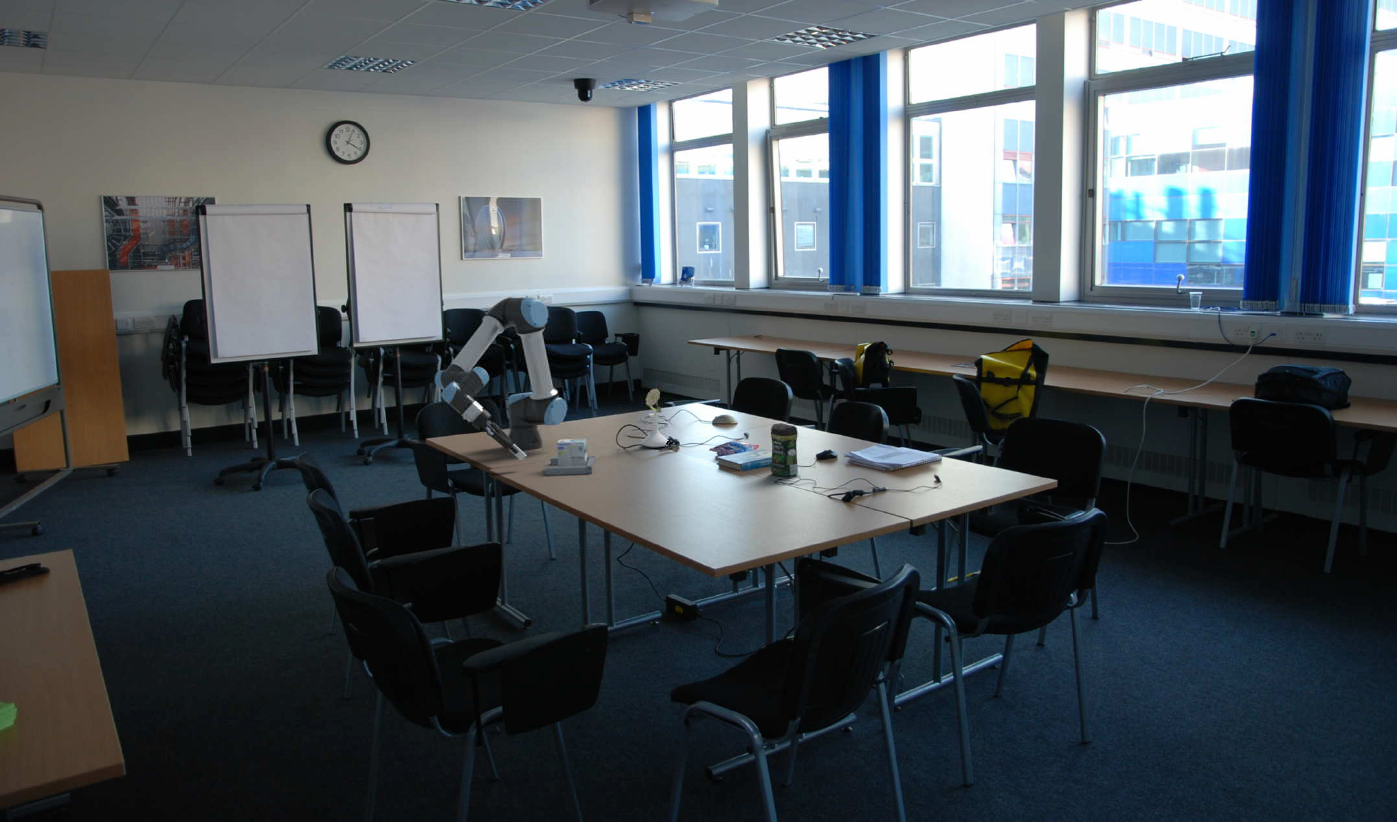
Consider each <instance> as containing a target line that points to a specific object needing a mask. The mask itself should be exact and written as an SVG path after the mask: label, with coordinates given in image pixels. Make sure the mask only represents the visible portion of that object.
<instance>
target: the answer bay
mask: <svg viewBox="0 0 1397 822" xmlns="http://www.w3.org/2000/svg"><path fill="white" fill-rule="evenodd" d="M549 460H550V465H551V466H549V467H548V466H546V467H545V469H544V470H545V471H544V473H545V476H561V475H565V474H566V475H592V474H593V471H594V468H593V467H594V466H595V463H596V457H595V456H594V455H592V456H591V455H589V456H588V455H587V466H574V467H558V457H550V459H549Z"/></svg>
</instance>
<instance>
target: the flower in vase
mask: <svg viewBox="0 0 1397 822" xmlns="http://www.w3.org/2000/svg"><path fill="white" fill-rule="evenodd" d="M660 394H661V392H660V390H658V389H657V388H655V389H654V388H653V389H651V390H650V391H649V392H648V393H647V395H646V398H645V401H646V402H645V404H646V406H648V407H650V409H651V410H653V411H654V413H653V412H652V413H649V414H648V416H649V417H650V419H651V424H652V425H651V426H652V430H651V432H650V433H649V434H648V435H646V437H645V438H644V439H643V440H642V442H641V444H642V446H645V447H646V448H661V447H666V446H667V445H666V443H667V441H669V440H668V439H667V437H666V436H664V435H662V434H661V433H660V431H659V426H658V425H659V424H658V423H659V418H660V417H661V415H662V414H661V413H662V409H661V407H660V406H659V404H658V401H659V399H660ZM654 405H656V408H654V407H653V406H654ZM665 445H666V446H665Z"/></svg>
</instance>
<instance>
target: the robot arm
mask: <svg viewBox="0 0 1397 822" xmlns="http://www.w3.org/2000/svg"><path fill="white" fill-rule="evenodd" d="M548 319H549V310H548V308H547V305H546V304H545V303H544V302H543V301H542V300H541V299H540V298H536V297H529V296H527V297H506V298H504V299H501V300H500V301H499V302H497V303H495V304H494V305H493V306H492V307H491V308H490V309H489V310H488V311H487V313H486V314H485V315H484V316H483V318H482V323H481V324H480V326H479V327H478V328H477V329H476V331H475V332H474V333H473V335H471V337H470V338H469V340H468V341H467V342H466V344H465V345H464V346H463V347H462V349H461V350H460V351H459V353H458V354H457V355H456V356H455V358H454V359H453V360H452V362H451V363H450V365H449V366H448V367H447V368H446V369H443V370H439V371H437V372H436V374H435V376H434V383H435V385H436V387H437V388H438V389H440V390H442V391H441V394H440V396H441V397H442V399H443V400H444V401H445V402H446V403H447V404H448V405H449V406H450V407H452V408H453V409H454V410H455V411H456V412H457V413H459V414H460V415H461V416H462V419H463V420H467V422H468V423H470V422H471V425H472V427H474V428H475V429H476V430H480V429H481V428H483V429H484V431H485V433H486V435H488V436H489V437H491V438H492V439H493V441H494V440H495V442H497V444H499V445H501V446H502V447H503V448H504V449H505V452H506V451H509V452H510V453H512V455H514V456H515V457H516V458H517V459H518V460H519V461H521V462H522V461H523V460H524V459H525V458H526V457H527V454H526V453H525V452H524V451H527V450H534V449H535V448H536V449H539V448H542V447H543V439H542V436H541V434H540V431H539V427H538V425H541V426H547V427H548V426H557V425H560V424H561V423H562V422H563V421H564V419H565V417H566V415H567V410H568V405H567V403H566V401H565V399H563V397H560V396H559V391H558V389H556V388H555V387H554V385H553V380H552V376H551V370H550V365H549V361H548V356H547V350H546V347H545V346H546V345H545V341H544V335H543V332H544V330H545V329H546V324H547V323H548ZM512 327H514V328H515V332H516V334H517V335H518V336H519V337H520V339H521V342H522V348H523V352H524V357H525V358H524V359H525V363H526V368H527V372H528V376H529V380H530V381H529V382H530V386H531V390H532V391H529V392H522V393H515V394H511V395H509V397H508V403H507V407H508V419H509V421H508V422H509V432H508V435H507V434H506V432H505V431H503V430H502V429H501V428H500V426H499V424H497V423H495V422H494V421H493V422H492V421H491V420H489V419H490V418H492V414H491V413H490V412H489V411H488V410H486V409H484V406H482V405H481V404H480V403H479V402H478V401H477V400H476V399H474V397H475V396H476V395H477V394H478V393H479V392H480V391H481V390H482V389H483V388H484V387H486V384H488V382H489V381H490V376H489V374H488V372H487V370H485V368H483V367H481V366H475V365H476V364H477V362H478V361H479V360H480V359H481V357H482V356H483V355H484V354H485V352H486V351H487V349H489V346H490V345H491V344H492V343H493V342H494V341H495V339H496V337H497V336H498V335H500V334H502V333H503V332H504V331H505V330H506V329H507V328H512ZM474 366H475V367H474ZM473 367H474V368H473Z"/></svg>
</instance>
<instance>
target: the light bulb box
mask: <svg viewBox="0 0 1397 822" xmlns="http://www.w3.org/2000/svg"><path fill="white" fill-rule="evenodd" d="M587 450H588V449H587V439H586V438H573V439H572V438H569V439H559V440H558V441H557V442H556V452H557V453H556V454H557V455H556V456H557V457H558V465H557V467H574V466H587V456H588V452H587Z"/></svg>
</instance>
